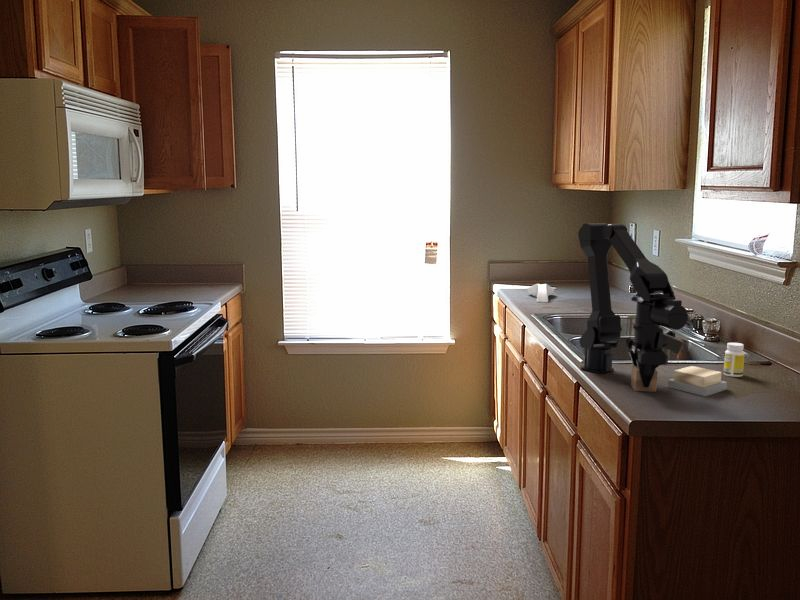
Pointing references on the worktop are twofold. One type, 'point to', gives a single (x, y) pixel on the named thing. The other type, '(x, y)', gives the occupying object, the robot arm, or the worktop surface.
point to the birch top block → (697, 376)
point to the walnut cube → (637, 381)
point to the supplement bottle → (734, 360)
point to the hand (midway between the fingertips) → (643, 384)
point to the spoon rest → (541, 291)
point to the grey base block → (698, 387)
